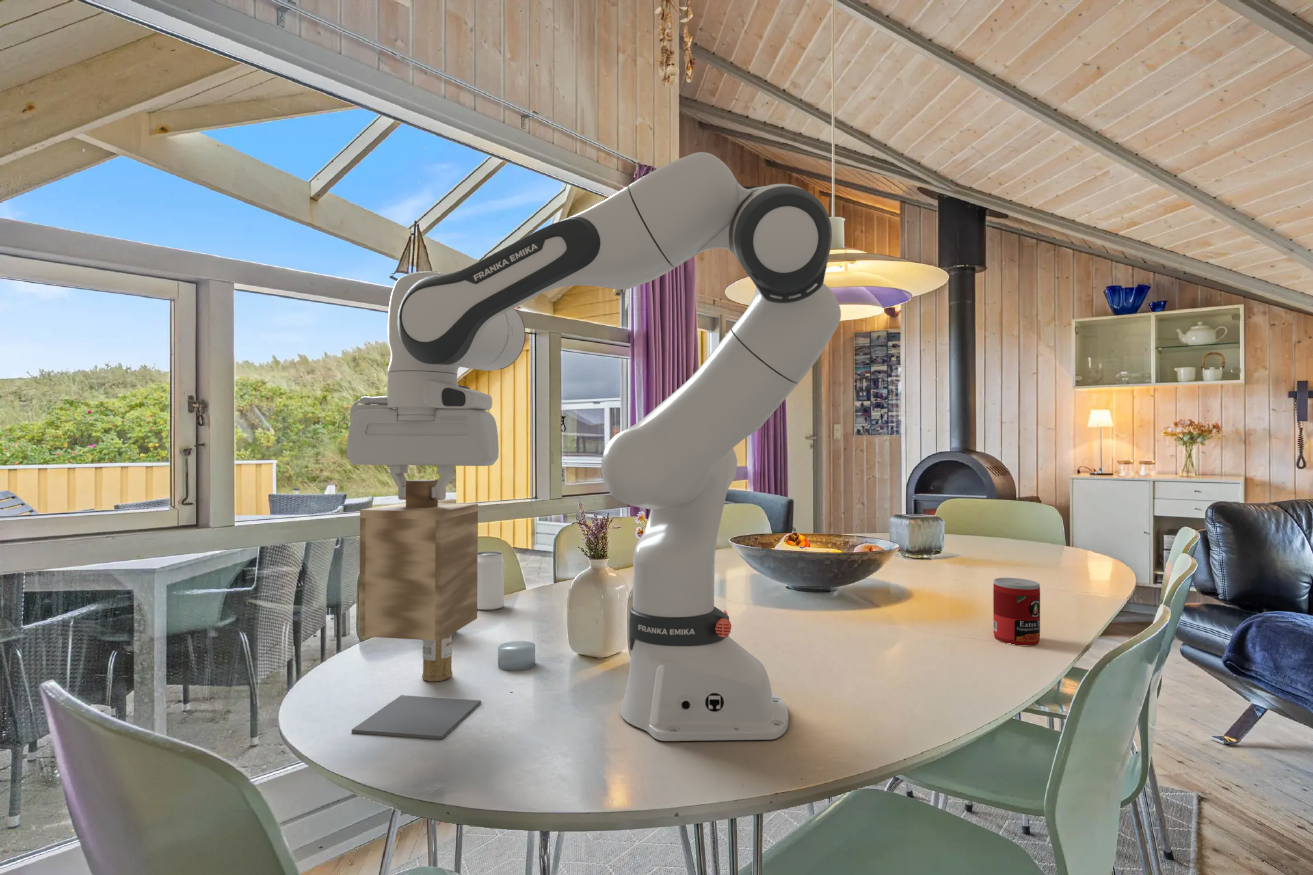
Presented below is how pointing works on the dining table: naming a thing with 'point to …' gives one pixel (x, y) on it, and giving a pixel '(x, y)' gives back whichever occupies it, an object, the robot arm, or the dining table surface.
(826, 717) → the dining table surface
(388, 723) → the felt mat
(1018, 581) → the canned food
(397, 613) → the oak cover
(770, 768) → the dining table surface
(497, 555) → the can
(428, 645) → the sprinkles bottle
